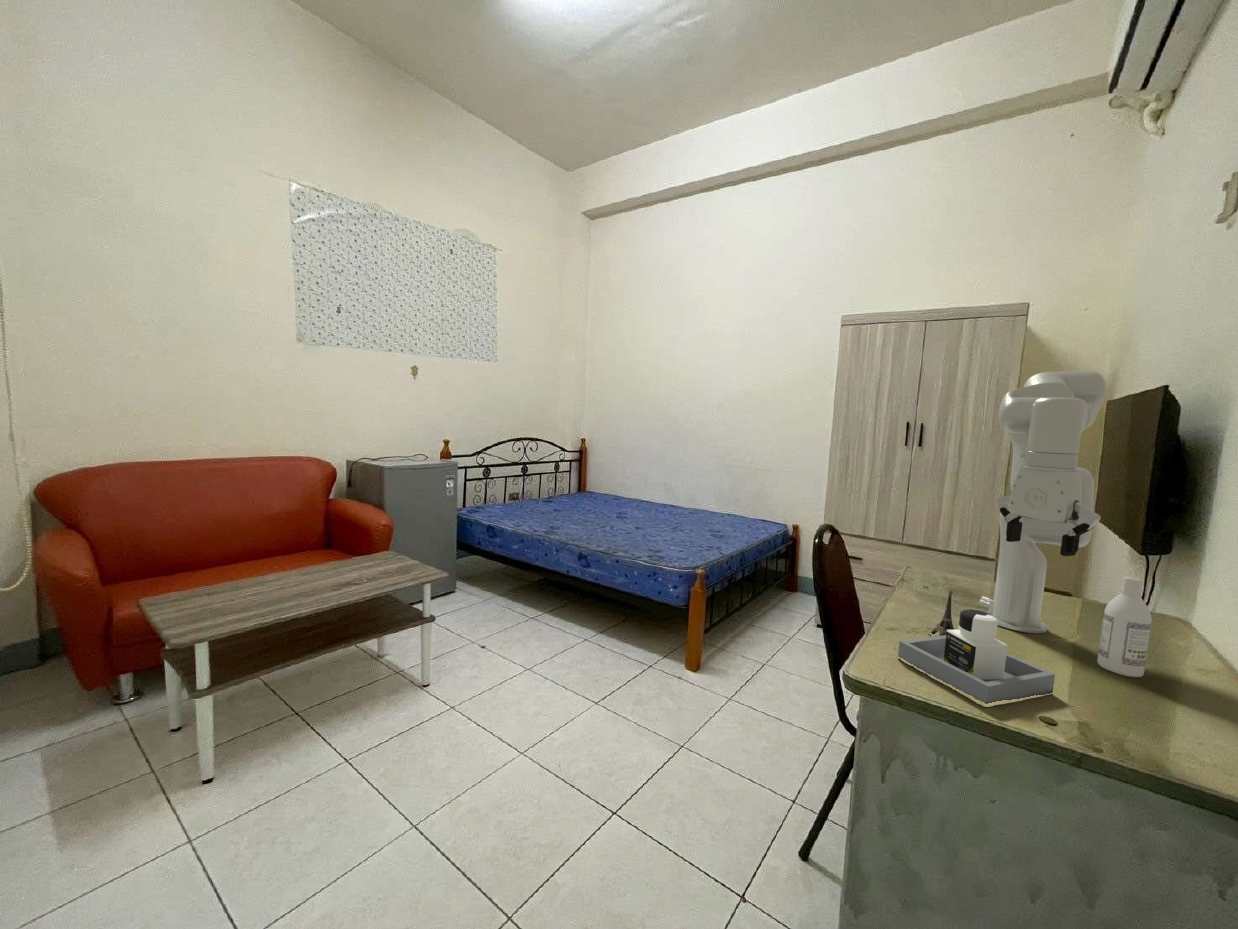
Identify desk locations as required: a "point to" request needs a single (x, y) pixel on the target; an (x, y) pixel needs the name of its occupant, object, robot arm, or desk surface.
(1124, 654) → the bath foam
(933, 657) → the tray
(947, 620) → the eiffel tower figurine
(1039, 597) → the robot arm
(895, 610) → the desk surface
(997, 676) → the medicine bottle
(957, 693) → the desk surface
